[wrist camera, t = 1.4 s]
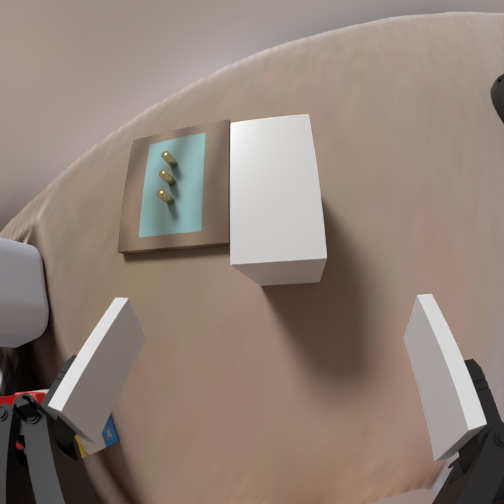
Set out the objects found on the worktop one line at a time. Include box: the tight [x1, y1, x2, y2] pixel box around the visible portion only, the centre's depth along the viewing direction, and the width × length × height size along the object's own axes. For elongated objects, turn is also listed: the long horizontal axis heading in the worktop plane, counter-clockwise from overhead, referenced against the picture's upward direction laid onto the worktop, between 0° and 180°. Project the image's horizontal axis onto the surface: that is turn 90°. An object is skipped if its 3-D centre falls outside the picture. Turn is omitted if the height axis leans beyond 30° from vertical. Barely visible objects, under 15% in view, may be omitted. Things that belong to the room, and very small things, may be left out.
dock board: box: [118, 120, 230, 254], centre depth 34 cm, size 14×16×1 cm
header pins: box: [157, 151, 177, 205], centre depth 32 cm, size 1×6×2 cm, turn 2°
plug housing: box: [230, 114, 327, 286], centre depth 25 cm, size 6×11×12 cm, turn 2°
